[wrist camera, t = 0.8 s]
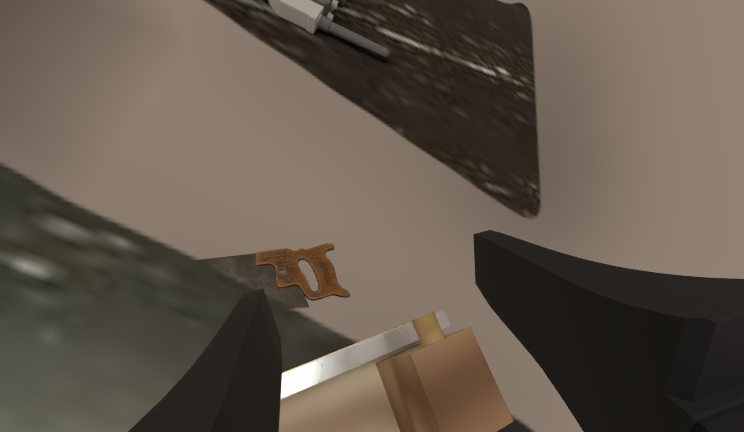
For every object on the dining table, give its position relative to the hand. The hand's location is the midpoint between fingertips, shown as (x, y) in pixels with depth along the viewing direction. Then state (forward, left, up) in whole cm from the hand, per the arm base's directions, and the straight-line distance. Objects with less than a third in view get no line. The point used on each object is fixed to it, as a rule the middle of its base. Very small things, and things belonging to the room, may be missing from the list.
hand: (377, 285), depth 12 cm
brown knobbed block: (-5, -5, -13) cm, 15 cm away
